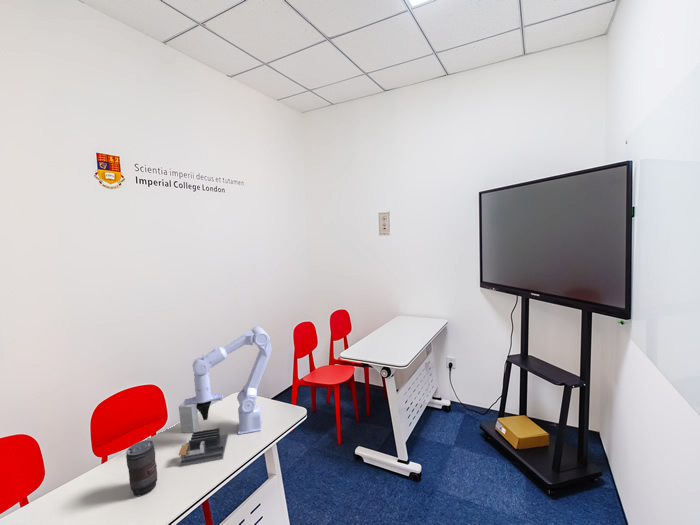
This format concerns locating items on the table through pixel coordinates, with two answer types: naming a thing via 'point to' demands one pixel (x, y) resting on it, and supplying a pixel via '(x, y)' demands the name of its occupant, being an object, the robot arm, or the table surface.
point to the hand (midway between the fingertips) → (205, 418)
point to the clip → (197, 451)
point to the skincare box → (188, 417)
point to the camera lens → (142, 467)
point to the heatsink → (212, 447)
